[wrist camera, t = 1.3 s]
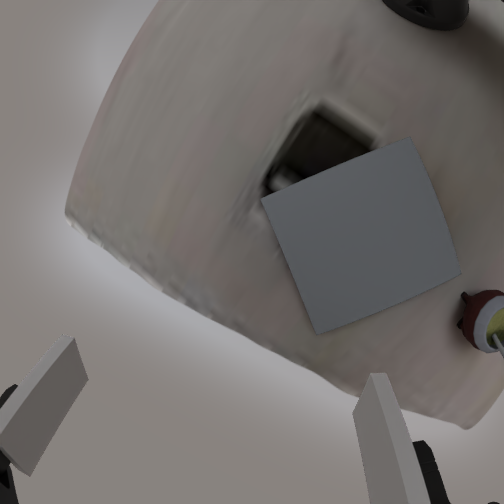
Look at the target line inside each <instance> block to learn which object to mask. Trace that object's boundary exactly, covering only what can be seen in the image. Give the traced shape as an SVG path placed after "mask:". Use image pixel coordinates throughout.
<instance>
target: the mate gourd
mask: <svg viewBox="0 0 504 504" xmlns="http://www.w3.org/2000/svg"><path fill="white" fill-rule="evenodd" d="M461 297H462V299H463V300H464V302H465V303H466V304H467V306H466V309H465V311H464V316H463V318H462V319H461V320H460V321H459V322H458V324H457V326H458V328H459V329H462V332H463V335H464V336H465V337H466V339H467V340H468V341H469V342H470V343H471V344H472V345H473V347H475V348H476V349H479V350H481V351H483V352H486V353H492V352H498V351H500V352H501V354H502V356H503V358H504V293H503V292H501V291H499V290H485V291H482V292H480V293H478V294H476V295H474V296H468V294H467V293H466V292H463V293H462V294H461Z"/></svg>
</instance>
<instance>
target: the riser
mask: <svg viewBox="0 0 504 504" xmlns="http://www.w3.org/2000/svg"><path fill="white" fill-rule="evenodd" d="M261 202H262V204H263V206H264V209H265V211H266V213H267V216H268V218H269V220H270V223H271V225H272V227H273V230H274V232H275V234H276V237H277V239H278V242H279V244H280V246H281V249H282V251H283V254H284V256H285V258H286V261H287V263H288V266H289V268H290V271H291V273H292V275H293V278H294V280H295V283H296V285H297V288H298V290H299V293H300V295H301V298H302V300H303V303H304V305H305V308H306V310H307V313H308V315H309V318H310V320H311V323H312V325H313V328H314V330H315V333H316V335H319V334H322V333H325V332H327V331H330V330H333V329H336V328H338V327H341V326H344V325H346V324H349V323H352V322H354V321H357V320H360V319H362V318H365V317H367V316H370V315H372V314H375V313H377V312H380V311H382V310H384V309H387V308H389V307H392V306H394V305H396V304H399V303H401V302H403V301H405V300H408V299H410V298H412V297H414V296H417V295H419V294H421V293H423V292H425V291H427V290H430V289H432V288H434V287H436V286H438V285H440V284H442V283H444V282H446V281H448V280H450V279H452V278H454V277H456V276H458V275H460V274H461V270H460V266H459V262H458V259H457V255H456V252H455V248H454V245H453V242H452V238H451V235H450V232H449V229H448V226H447V223H446V220H445V217H444V214H443V212H442V209H441V206H440V204H439V201H438V198H437V196H436V193H435V191H434V188H433V186H432V183H431V181H430V178H429V176H428V174H427V171H426V169H425V167H424V165H423V162H422V160H421V158H420V156H419V154H418V152H417V149H416V147H415V145H414V143H413V141H412V139H411V137H407V138H405V139H402V140H399V141H397V142H394V143H392V144H389V145H387V146H384V147H381V148H379V149H376V150H374V151H371V152H369V153H366V154H364V155H361V156H359V157H357V158H354V159H352V160H349V161H347V162H344V163H342V164H340V165H337V166H335V167H332V168H330V169H328V170H325V171H323V172H321V173H318V174H316V175H314V176H311V177H309V178H307V179H304V180H302V181H300V182H297V183H295V184H293V185H291V186H288V187H286V188H284V189H282V190H279V191H277V192H275V193H273V194H270V195H268V196H266V197H264V198H262V199H261Z"/></svg>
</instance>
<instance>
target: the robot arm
mask: <svg viewBox="0 0 504 504" xmlns="http://www.w3.org/2000/svg"><path fill="white" fill-rule="evenodd" d="M383 1H384V2H385V3H386V4H387V5H388V6H389V7H390V8H391V9H392V10H394V11H395V12H396V13H398V14H399V15H401V16H403V17H404V18H406V19H408V20H410V21H412V22H414V23H416V24H419V25H421V26H424V27H428V28H431V29H436V30H454V29H457V28H459V27H460V26H461V25H462V24H463V23H464V21H465V19H466V18H467V16H468V13H469V4H468V1H469V0H383ZM501 1H502V2H504V0H501ZM87 381H88V377H87V374H86V371H85V368H84V366H83V363H82V360H81V357H80V354H79V351H78V348H77V344H76V341H75V338H74V337H70V336H67V335H63V334H62V335H61V336H60V337H59V339H58V340H57V341H56V342H55V343H54V344H53V345H52V346H51V348H50V349H49V350H48V351H47V352H46V353H45V354H44V356H43V357H42V358H41V359H40V360H39V362H38V363H37V364H36V365H35V366H34V367H33V369H32V370H31V371H30V372H29V374H28V375H27V376H26V377H25V378H24V379H23V381H22V382H21V383H20V384H19V386H18V385H16V384H14V385H13V386H11V387H10V388H8V389H6V391H5V392H4V393H3V394H2V396H1V397H0V504H19V503H18V499H17V495H16V490H15V486H14V481H13V476H12V471H11V468H10V466H9V464H10V463H12V464H13V465H14V466H15V467H16V468H17V469H18V470H20V471H21V472H23V473H25V474H26V475H28V476H31V474H32V473H33V471H34V469H35V467H36V465H37V463H38V462H39V460H40V457H41V456H42V455H43V453H44V451H45V449H46V447H47V446H48V444H49V442H50V441H51V439H52V437H53V436H54V434H55V432H56V431H57V429H58V427H59V425H60V424H61V422H62V421H63V419H64V417H65V416H66V414H67V412H68V411H69V409H70V408H71V406H72V404H73V403H74V401H75V399H76V398H77V396H78V395H79V393H80V392H81V390H82V389H83V387H84V386H85V384H86V382H87ZM353 418H354V422H355V427H356V431H357V436H358V441H359V446H360V450H361V455H362V461H363V466H364V471H365V476H366V482H367V487H368V493H369V498H370V504H451V503H450V502H449V500H448V497H447V494H446V491H445V488H444V485H443V481H442V478H441V475H440V472H439V470H438V466H437V464H436V462H435V458H434V455H433V452H432V450H431V448H430V447H429V446H428V445H427V444H426V442H425V441H424V440H422V441H416V442H412V441H411V438H410V435H409V432H408V429H407V426H406V423H405V421H404V418H403V415H402V412H401V410H400V407H399V404H398V402H397V399H396V396H395V394H394V391H393V388H392V386H391V383H390V381H389V378H388V376H387V373H370V375H369V378H368V380H367V382H366V385H365V387H364V389H363V391H362V394H361V396H360V398H359V400H358V403H357V405H356V407H355V409H354V411H353ZM488 504H499V503H497V502H490V503H488Z"/></svg>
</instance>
